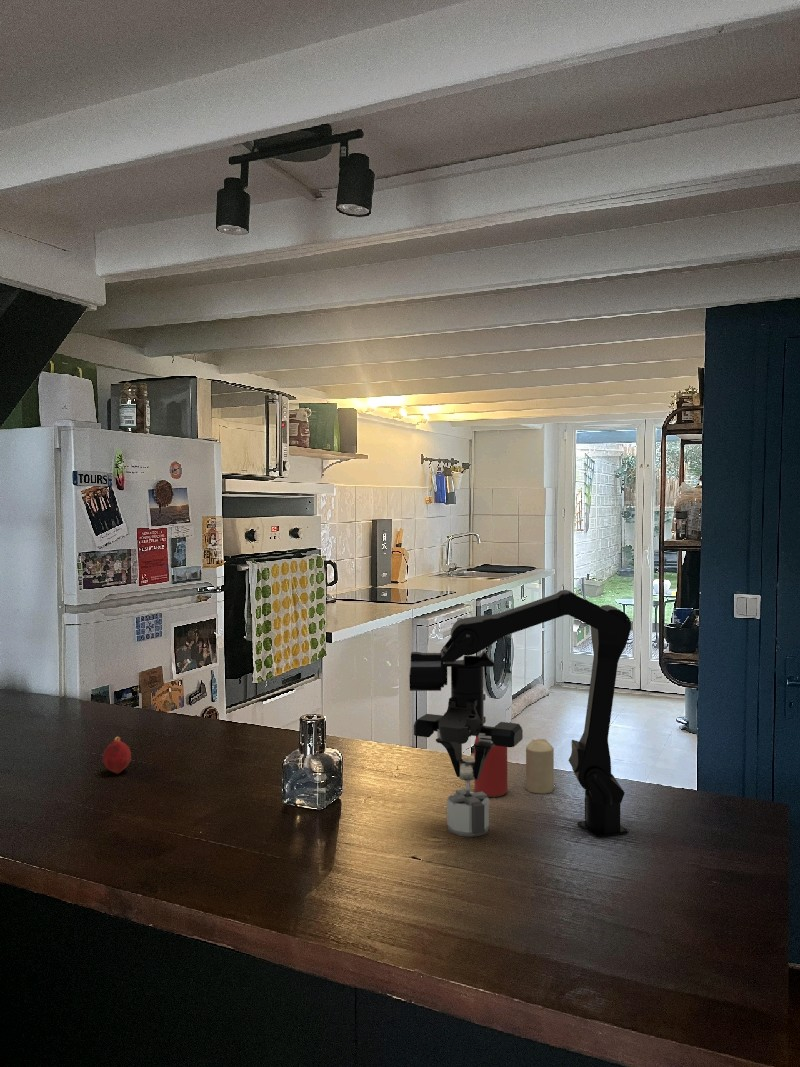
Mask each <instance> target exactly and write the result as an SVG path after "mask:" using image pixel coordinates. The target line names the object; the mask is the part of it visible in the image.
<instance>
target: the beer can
mask: <svg viewBox="0 0 800 1067" xmlns="http://www.w3.org/2000/svg"><path fill="white" fill-rule="evenodd" d="M478 741H479V739H478V736H475V739H474V743H473V746H474V745H475V744H476V743H477V742H478ZM473 749H474V750H473V751H474V753H473V756H474V757H473V759H474V760H475V753H476V752H475V748H474V747H473ZM473 782H474V791H475V792H482V791H483V792H484V793H485V794H487V798H498V797H503V796H504V795H506V793H507V792H508V747H503V746H496V745H495V746H493V747H492V748H491V749H490V751H489V753H488V755H487V757H486V760H485V763H484V765H483V768H482V771H481V773H480V776H479V778H478V779H477V780H473Z"/></svg>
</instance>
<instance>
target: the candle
mask: <svg viewBox="0 0 800 1067" xmlns="http://www.w3.org/2000/svg"><path fill="white" fill-rule="evenodd" d="M554 749H555V748H554V747H553V745H552V744H551V743H550V742H549V741H548V740H547V739H543V738H537V739H534V738H533V739H532V740H531V741H530V742H528V744H527V745H526V746H525V788H526V791H528V792H529V793H534V794H541V795H542V794H543V795H544V794H550V793H552V792H553V791H554V786H555V785H554V782H555V778H554V777H555V776H554V775H555V773H554V772H555V771H554V770H555V768H554V766H555V765H554V762H555V761H554V759H555V758H554V757H555V756H554V753H555V750H554Z"/></svg>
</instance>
